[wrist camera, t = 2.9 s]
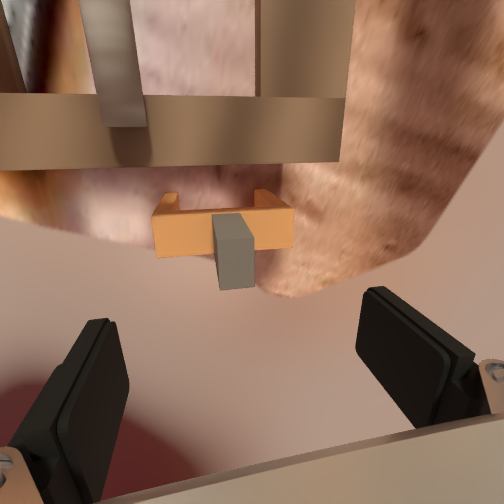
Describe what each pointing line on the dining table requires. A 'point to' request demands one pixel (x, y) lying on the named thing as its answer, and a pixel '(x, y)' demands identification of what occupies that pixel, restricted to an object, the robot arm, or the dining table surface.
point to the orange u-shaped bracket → (224, 234)
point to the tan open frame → (186, 99)
